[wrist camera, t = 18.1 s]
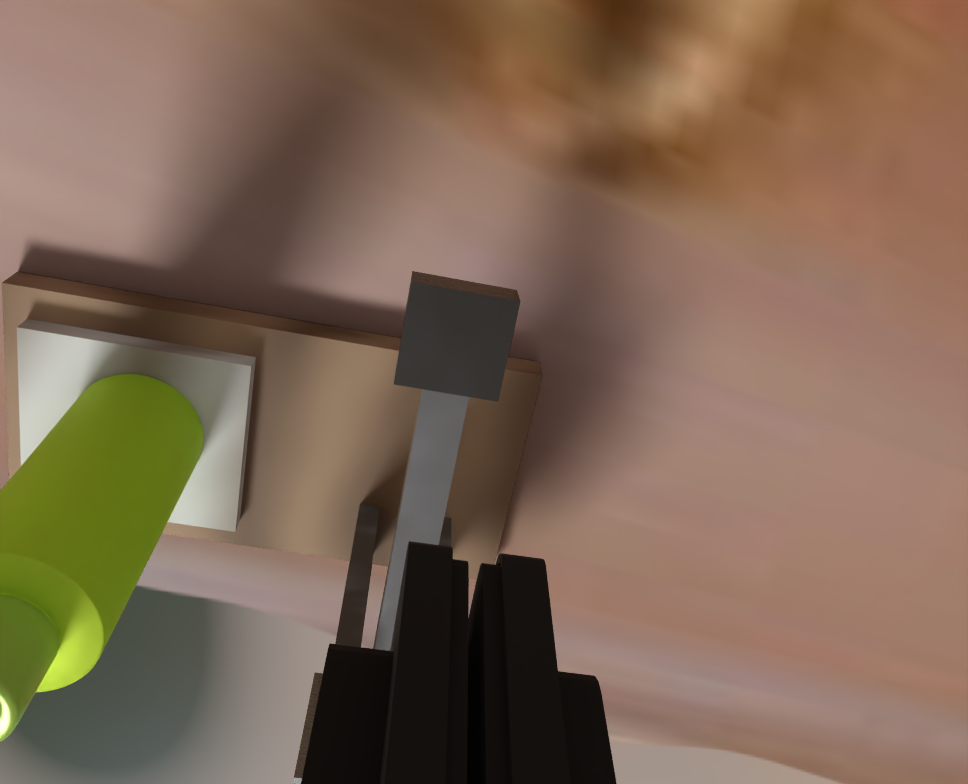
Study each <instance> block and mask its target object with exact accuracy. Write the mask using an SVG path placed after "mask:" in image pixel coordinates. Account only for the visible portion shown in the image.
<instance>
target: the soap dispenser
mask: <svg viewBox="0 0 968 784" xmlns="http://www.w3.org/2000/svg"><path fill="white" fill-rule="evenodd" d="M203 444H204V434H203V428H202V424H201V421H200V418H199V416H198V414H197V412H196V411H195V409H194V407H193V406H192V405H191V403H190V402H189V401H188V400H187V399H186V398H185V397H184V396H183V395H182V394H181V393H180V392H178V391H177V390H176V389H174V388H173V387H171V386H170V385H168V384H166V383H164V382H162V381H160V380H157V379H155V378H152V377H148V376H144V375H138V374H119V375H113V376H109V377H106V378H103V379H101V380H99V381H97V382H95V383H93V384H92V385H90V386H89V387H88V388H87V389H86V390H85V391H84V392H83V393H82V394H81V395H80V396H79V398H78V399H77V400H76V401H75V402H74V404H73V405H72V406H71V407H70V408H69V409H68V411H67V412H66V413H65V414H64V415H63V417H62V418H61V419H60V420H59V421H58V423H57V424H56V425H55V426H54V427H53V429H52V430H51V431H50V432H49V433H48V435H47V436H46V437H45V438H44V439H43V440H42V442H41V443H40V444H39V445H38V446H37V448H36V449H35V450H34V451H33V452H32V454H31V455H30V456H29V457H28V458H27V460H26V461H25V462H24V463H23V464H22V466H21V467H20V468H19V469H18V470H17V471H16V473H15V474H14V475H13V476H12V477H11V479H10V480H9V481H8V482H7V483H6V485H5V486H4V487H3V488H2V489H1V491H0V742H1V741H2V740H4V739H5V738H6V737H8V736H9V735H10V734H11V732H12V731H13V730H14V729H15V727H16V726H17V724H18V722H19V721H20V719H21V717H22V715H23V713H24V712H25V710H26V708H27V706H28V705H29V703H30V701H31V699H32V698H33V696H34V694H35V692H44V691H50V690H55V689H58V688H62V687H64V686H67V685H70V684H72V683H74V682H76V681H77V680H79V679H80V678H82V677H83V676H85V675H86V674H87V673H88V672H89V671H90V670H91V669H92V668H93V667H94V665H95V664H96V662H97V661H98V659H99V658H100V656H101V653H102V651H103V650H104V648H105V646H106V644H107V642H108V640H109V638H110V636H111V634H112V632H113V630H114V628H115V626H116V624H117V622H118V620H119V617H120V616H121V614H122V612H123V610H124V608H125V606H126V604H127V602H128V600H129V598H130V596H131V594H132V592H133V590H134V588H135V586H136V584H137V582H138V580H139V578H140V576H141V574H142V572H143V570H144V568H145V566H146V564H147V562H148V560H149V558H150V556H151V554H152V552H153V550H154V548H155V546H156V544H157V542H158V540H159V538H160V536H161V534H162V532H163V530H164V528H165V526H166V524H167V522H168V520H169V518H170V516H171V514H172V512H173V510H174V508H175V506H176V504H177V502H178V500H179V498H180V496H181V494H182V492H183V490H184V488H185V486H186V484H187V482H188V480H189V478H190V476H191V474H192V472H193V470H194V468H195V466H196V464H197V462H198V460H199V458H200V456H201V453H202V450H203Z"/></svg>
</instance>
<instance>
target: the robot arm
mask: <svg viewBox="0 0 968 784" xmlns="http://www.w3.org/2000/svg"><path fill="white" fill-rule="evenodd" d="M468 586H469V564H468V561H463V560H456V559H453V548H452V547H449V546H441V545H434V544H426V543H419V542H411V541H409V542H408V547H407V553H406V558H405V564H404V570H403V576H402V582H401V588H400V595H399V601H398V607H397V613H396V619H395V625H394V631H393V637H392V643H391V649H390V651H386V650H378V649H370V648H361V647H353V646H345V645H337V644H330V645H329V648H328V652H327V657H326V662H325V667H324V671H323V676H322V681H321V686H320V691H319V696H318V701H317V706H316V711H315V716H314V721H313V726H312V731H311V736H310V741H309V746H308V751H307V756H306V761H305V766H304V771H303V776H302V781H301V784H616V778H615V772H614V766H613V760H612V754H611V749H610V742H609V736H608V730H607V724H606V718H605V712H604V706H603V700H602V694H601V690H600V686H599V682H598V680H597V679H596V677H595V676H591V675H583V674H575V673H567V672H558V668H557V659H556V651H555V642H554V633H553V624H552V616H551V607H550V598H549V589H548V581H547V572H546V565H545V561H544V560H543V559H539V558H532V557H524V556H517V555H509V554H502V553H500V554H499V556H498V558H497V562H496V565H494V564H486V563H481V565H480V568H479V572H478V577H477V581H476V586H475V591H474V595H473V600H472V604H471V609H470V614H469V618H468Z"/></svg>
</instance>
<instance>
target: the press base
mask: <svg viewBox="0 0 968 784" xmlns="http://www.w3.org/2000/svg"><path fill="white" fill-rule="evenodd" d="M2 296H3V324H4V351H5V378H6V406H7V433H8V460H9V480H10V479H11V477H12V476H13V475H14V474H15V473H16V471H17V470H18V469H19V468H20V467H21V466H22V464H23V463H24V462H25V461H26V460H27V458H28V457H29V456H30V455H31V454H32V452H33V451H34V450H35V449H36V448H37V446H38V445H39V444H40V443H41V442H42V440H43V439H44V438H45V437H46V436H47V435H48V433H49V432H50V431H51V430H52V429H53V427H54V426H55V425H56V424H57V423H58V421H59V420H60V419H61V418H62V417H63V415H64V414H65V413H66V412H67V411H68V409H69V408H70V407H71V406H72V405H73V404H74V402H75V401H76V400H77V399H78V398H79V396H80V395H81V394H82V393H83V392H84V391H85V390H86V389H87V388H88V387H89V386H90V385H92V384H93V383H95V382H97V381H99V380H101V379H103V378H106V377H109V376H113V375H119V374H138V375H144V376H148V377H152V378H155V379H157V380H160V381H162V382H164V383H166V384H168V385H170V386H171V387H173V388H174V389H176V390H177V391H178V392H180V393H181V394H182V395H183V396H184V397H185V398H186V399H187V400H188V401H189V402H190V403H191V405H192V406H193V407H194V409H195V411H196V412H197V414H198V416H199V418H200V421H201V424H202V428H203V434H204V444H203V450H202V453H201V456H200V458H199V460H198V462H197V464H196V466H195V468H194V470H193V472H192V474H191V476H190V478H189V480H188V482H187V484H186V486H185V488H184V490H183V492H182V494H181V496H180V498H179V500H178V502H177V504H176V506H175V508H174V510H173V512H172V514H171V516H170V518H169V520H168V522H167V524H166V526H165V528H164V530H163V532H162V534H167V535H174V536H181V537H188V538H195V539H202V540H209V541H216V542H223V543H230V544H237V545H244V546H251V547H258V548H265V549H271V550H278V551H285V552H292V553H299V554H306V555H313V556H320V557H327V558H334V559H341V560H348V561H350V563H349V569H348V575H347V580H346V586H345V592H344V598H343V603H342V609H341V615H340V621H339V626H338V632H337V638H336V644H337V645H345V646H353V647H361V642H362V634H363V627H364V620H365V612H366V605H367V598H368V590H369V583H370V576H371V569H372V564H376V565H383V566H389V560H390V555H391V549H392V544H393V539H394V533H395V528H396V522H397V517H398V511H399V506H400V501H401V495H402V490H403V484H404V479H405V474H406V468H407V463H408V457H409V452H410V446H411V441H412V436H413V430H414V425H415V419H416V414H417V409H418V403H419V398H420V392H421V389H418V388H412V387H406V386H400V385H394V377H395V370H396V364H397V358H398V352H399V346H400V341H401V338H397V337H391V336H386V335H380V334H374V333H368V332H362V331H357V330H351V329H345V328H339V327H334V326H328V325H322V324H316V323H310V322H305V321H299V320H293V319H287V318H282V317H276V316H270V315H264V314H258V313H253V312H247V311H241V310H235V309H229V308H224V307H218V306H212V305H206V304H201V303H195V302H189V301H183V300H177V299H172V298H166V297H160V296H154V295H149V294H143V293H137V292H131V291H125V290H120V289H114V288H108V287H102V286H97V285H91V284H85V283H79V282H73V281H68V280H62V279H56V278H50V277H45V276H39V275H33V274H27V273H21V272H16V273H15V274H14V275H12V276H11V277H9V278H8V279H7V280H5V281H4V282H3V283H2ZM541 379H542V372H541V367H540V362H536V361H530V360H524V359H518V358H513V357H508V359H507V364H506V369H505V373H504V378H503V382H502V387H501V391H500V396H499V401H498V402H496V401H490V400H484V399H478V398H472V397H469V400H468V405H467V410H466V414H465V419H464V424H463V429H462V434H461V439H460V444H459V448H458V453H457V458H456V463H455V468H454V473H453V477H452V482H451V487H450V492H449V497H448V502H447V507H446V511H445V516H444V521H443V526H442V531H441V536H440V541H439V545H441V546H449V547H452V548H453V559H456V560H463V561H468V564H469V578H473V579H477V577H478V572H479V568H480V565H481V563H486V564H495V560H496V557H497V553H498V549H499V545H500V541H501V537H502V533H503V529H504V525H505V521H506V517H507V513H508V509H509V505H510V501H511V497H512V493H513V489H514V485H515V481H516V477H517V473H518V470H519V466H520V462H521V458H522V454H523V450H524V446H525V442H526V438H527V434H528V430H529V426H530V422H531V418H532V414H533V410H534V406H535V402H536V398H537V394H538V390H539V386H540V383H541Z"/></svg>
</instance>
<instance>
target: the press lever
mask: <svg viewBox="0 0 968 784" xmlns="http://www.w3.org/2000/svg"><path fill="white" fill-rule="evenodd" d="M519 305H520V299H519V296H518V292H517V290H513V289H507V288H502V287H496V286H491V285H485V284H480V283H474V282H469V281H463V280H458V279H452V278H447V277H441V276H436V275H430V274H425V273H419V272H414V271H412V277H411V283H410V288H409V294H408V300H407V306H406V312H405V317H404V323H403V329H402V335H401V341H400V346H399V352H398V358H397V364H396V370H395V377H394V385H400V386H406V387H412V388H418V389H421V392H420V398H419V403H418V409H417V414H416V419H415V425H414V430H413V436H412V441H411V446H410V452H409V457H408V463H407V468H406V474H405V479H404V484H403V490H402V495H401V501H400V506H399V511H398V517H397V522H396V528H395V533H394V539H393V544H392V549H391V555H390V560H389V566H388V571H387V576H386V582H385V587H384V593H383V598H382V604H381V609H380V614H379V620H378V625H377V631H376V636H375V641H374V647H373V649H378V650H386V651H390V649H391V643H392V637H393V631H394V625H395V619H396V613H397V607H398V601H399V595H400V588H401V582H402V576H403V570H404V564H405V558H406V553H407V547H408V542H409V541H411V542H419V543H426V544H434V545H439V541H440V536H441V531H442V526H443V521H444V516H445V511H446V507H447V502H448V497H449V492H450V487H451V482H452V477H453V473H454V468H455V463H456V458H457V453H458V448H459V444H460V439H461V434H462V429H463V424H464V419H465V414H466V410H467V405H468V400H469V397H472V398H478V399H484V400H490V401H496V402H498V401H499V396H500V391H501V387H502V382H503V378H504V373H505V369H506V364H507V359H508V355H509V350H510V346H511V341H512V337H513V332H514V328H515V323H516V318H517V314H518V309H519ZM322 676H323V674H321V673H315V674H314V679H313V685H312V690H311V695H310V700H309V705H308V710H307V715H306V720H305V725H304V730H303V735H302V740H301V745H300V750H299V755H298V760H297V765H296V770H295V775H294V780H293V784H301V781H302V776H303V771H304V766H305V761H306V756H307V751H308V746H309V741H310V736H311V731H312V726H313V721H314V716H315V711H316V706H317V701H318V696H319V691H320V686H321V681H322Z"/></svg>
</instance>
